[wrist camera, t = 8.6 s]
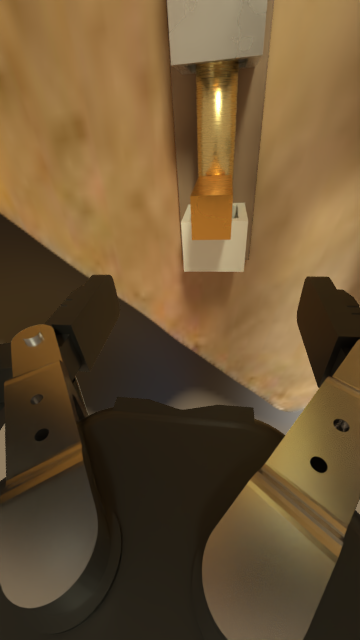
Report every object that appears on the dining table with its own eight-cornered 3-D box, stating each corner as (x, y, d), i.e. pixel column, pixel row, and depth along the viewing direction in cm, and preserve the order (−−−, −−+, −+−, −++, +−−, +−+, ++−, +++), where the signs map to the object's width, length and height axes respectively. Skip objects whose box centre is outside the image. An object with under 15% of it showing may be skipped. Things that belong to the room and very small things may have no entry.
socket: (244, 202, 28) (248, 220, 24) (241, 247, 31) (243, 271, 27) (188, 204, 29) (180, 222, 24) (190, 248, 32) (184, 271, 27)
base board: (290, -187, 16) (293, -203, 15) (248, 256, 33) (248, 259, 32) (158, -156, 17) (155, -168, 16) (183, 256, 34) (182, 259, 33)
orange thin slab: (240, 9, 19) (250, -63, 11) (229, 240, 29) (230, 287, 22) (196, 16, 20) (175, -49, 12) (200, 240, 30) (191, 287, 22)
